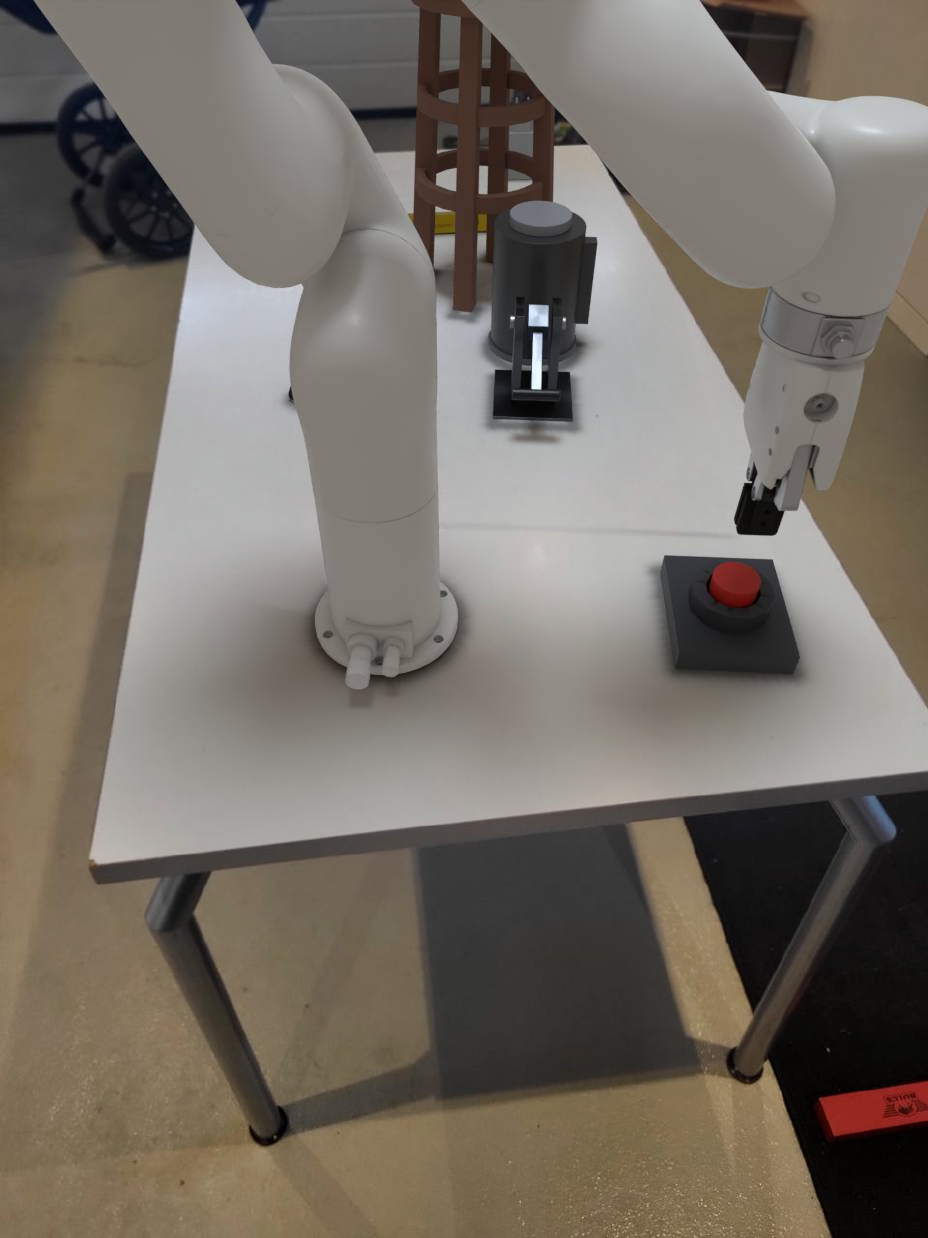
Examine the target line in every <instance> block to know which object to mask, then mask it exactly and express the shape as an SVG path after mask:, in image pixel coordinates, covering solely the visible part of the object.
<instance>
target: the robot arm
mask: <svg viewBox="0 0 928 1238" xmlns="http://www.w3.org/2000/svg"><path fill="white" fill-rule="evenodd" d="M461 1H462V2H463V3H464V4H465V5H466V6H467V7H468V9H469V10H470V11H471V12H472V13H473V14H474V15H475V16H476V17H477V18H478V19H479V20H480V21H481V22H482V23H483V26H485V27H486V29H487V30H488V31H489V32H490V34H491V33H492V34H493V35H494V36H495V37H496V38H497V39H498V40H499V42H500V43H501V44H502V45H503V46H504V47H505V48H506V49H507V50H508V52H509V53H510V54H511V57H513V58H514V60H515V61H516V62H517V63H518V64H519V66H520V67H521V68H522V69H523V71H524V73H527V75H528V76H529V77H530V79H531V80H532V81H533V83H534V84H535V85H536V86H537V88H538V89H539V90H540V91H541V92H542V94H543V95H544V96H545V97H546V98H547V99H548V100H549V101H550V102H551V103H552V105H553V106H554V107H555V110H557V112H559V113H560V114H561V116H563V118H564V119H565V120H566V121H567V122H568V123H569V124H570V125H571V126H572V127H573V129H574V130H575V131H576V132H577V133H578V134H579V135H580V137H582V138H583V140H584V141H585V142H586V144H587V145H588V146H589V147H590V148H591V149H592V151H593V152H594V153H595V154H596V156H597V157H598V158H599V159H600V160H601V162H602V163H603V164H604V165H605V166H606V167H607V169H609V171H610V172H611V173H612V174H613V176H614V177H615V178H616V179H617V180H618V182H619V183H620V184H621V185H622V186H623V188H624V189H625V190H626V191H627V192H628V193H629V194H630V195H631V197H632V198H633V199H634V200H635V201H636V202H637V203H638V204H639V205H640V207H641V208H642V209H643V210H644V211H645V212H646V213H647V214H648V215H649V216H650V217H651V218H652V219H653V221H654V222H656V224H657V225H658V226H659V227H660V228H661V229H662V230H663V231H664V232H665V233H666V234H667V235H668V236H669V237H670V238H671V239H672V240H673V241H674V242H675V243H676V244H677V245H678V247H680V248H681V249H682V251H684V253H685V254H686V255H687V256H688V257H690V258H691V260H692V261H693V262H694V263H696V265H698V267H700V269H702V270H703V271H704V272H705V273H707V274H708V275H709V276H711V277H712V278H713V279H716V280H717V281H719V282H721V283H723V284H726V285H728V286H731V287H735V288H739V289H748V290H749V289H751V290H752V289H763V288H764V289H765V288H767V293H766V296H765V297H766V298H765V301H764V304H763V308H762V312H761V316H760V319H759V324H758V327H757V331H758V334H759V338H760V339H761V341H762V342H761V346H760V349H759V352H758V355H757V358H756V361H755V364H754V366H753V367H754V368H753V371H752V374H751V378H750V381H749V384H748V388H747V392H746V397H745V401H744V406H743V414H742V415H743V419H742V420H743V426H744V430H745V434H746V438H747V442H748V445H749V448H750V455H749V459H748V463H747V467H746V472H745V477H746V481H747V482H743V486H742V489H741V492H740V496H739V499H738V502H737V506H736V510H735V512H734V516H733V522H734V525H735V531H736V533H737V534H738V535H739V536H763V537H764V536H765V537H773V536H776V535H777V534H778V532H779V529H780V526H781V523H782V520H783V518H784V514H785V512H797V511H798V510H799V507H800V503H801V499H802V495H803V491H804V488H805V487H804V486H805V483H806V478H807V475H808V472H809V475H810V478H811V480H812V483H813V487H814V489H815V491H821V492H826V491H828V490H829V489H830V488H831V486H832V484H833V483H834V480H835V477H836V475H837V471H838V468H839V466H840V463H841V460H842V457H843V454H844V451H845V447H846V445H847V441H848V438H849V434H850V432H851V427H852V424H853V422H854V419H855V415H856V411H857V410H856V409H857V408H858V407H857V406H858V403H859V398H860V393H861V389H862V384H863V379H864V374H865V373H864V372H865V367H866V366H865V365H866V364H865V360H866V359H867V358H868V357H869V356H871V355H872V353H873V352H874V350H875V348H876V345H877V342H878V340H879V337H880V334H881V332H882V328H883V326H884V323H885V320H886V318H887V315H888V313H889V311H890V307H891V305H892V302H893V299H894V296H895V293H896V291H897V288H898V286H899V283H900V280H901V278H902V275H903V273H904V270H905V268H906V264H907V262H908V259H909V256H910V254H911V251H912V248H913V246H914V242H915V240H916V238H917V235H918V233H919V230H920V227H921V225H922V222H923V219H924V216H925V214H926V211H927V209H928V106H927V105H925V104H922V103H919V102H916V101H913V100H910V99H906V98H901V97H894V96H886V95H885V96H883V95H863V96H861V95H860V96H854V97H848V98H844V99H840V100H827V99H818V98H813V97H807V96H800V95H793V94H788V93H782V92H777V91H772V90H767V89H766V87H764V85H763V83H762V82H761V81H760V80H759V78H758V77H757V76H756V74H754V72H753V71H752V70H751V68H750V67H749V66H748V64H747V63H746V62H745V61H744V59H743V57H742V56H740V54H739V53H738V51H737V50H736V49H735V48H734V46H733V45H732V43H731V42H730V41H729V39H728V38H727V36H726V35H725V34H724V33H723V31H722V30H721V29H720V27H719V26H718V24H717V23H716V21H714V19H713V18H712V15H710V13H709V11H708V10H707V8H706V7H705V6H704V5H703V3H702V2H701V0H461ZM33 2H34V3H35V4H36V6H37V7H38V8H39V10H40V11H41V13H42V14H43V16H44V17H45V18H46V20H47V21H48V22H49V24H50V25H51V26H52V27H53V30H55V32H56V33H57V35H58V36H59V37H60V38H61V40H62V41H63V42H64V44H65V45H66V47H67V48H68V49H69V51H70V52H71V53H72V54H73V56H74V57H75V58H76V59H77V61H78V62H79V63H80V65H81V66H82V67H83V69H84V70H85V71H86V73H87V74H88V76H89V77H90V78H91V79H92V81H93V82H94V84H96V86H97V87H98V89H99V90H100V92H101V93H102V95H103V96H104V97H105V98H106V100H107V101H108V102H109V105H110V106H111V107H112V108H113V110H114V112H115V113H116V115H117V116H118V118H119V119H120V120H121V122H122V124H123V125H124V127H125V128H126V130H127V131H128V133H129V134H130V136H131V137H132V139H133V140H134V141H135V143H136V144H137V145H138V147H139V148H140V150H141V151H142V153H143V154H144V156H146V158H147V159H148V161H149V162H150V163H151V165H152V167H153V168H154V169H155V170H156V172H157V173H158V175H159V176H160V177H161V179H162V181H163V182H164V183H165V184H166V186H167V187H168V189H169V190H170V191H171V193H172V194H173V196H174V197H175V199H176V200H177V201H178V202H179V204H180V205H181V207H182V208H183V210H184V211H185V212H186V213H187V215H188V216H189V218H190V219H191V220H192V223H193V224H194V225H195V227H196V228H197V230H198V231H199V233H200V234H201V235H202V237H203V238H204V239H205V240H206V241H207V243H208V245H209V246H210V247H211V248H212V250H213V251H214V252H215V253H216V254H217V256H218V257H219V258H220V259H221V260H222V261H223V262H224V263H225V265H227V267H228V268H230V269H231V270H233V271H234V272H235V273H236V274H238V275H239V276H240V277H241V278H243V279H245V280H247V281H250V282H252V283H254V284H256V285H258V286H263V287H266V288H271V289H285V288H287V289H288V288H293V287H295V286H298V285H301V286H302V292H301V295H300V298H299V300H298V301H299V302H298V306H297V310H296V314H295V319H294V323H293V328H292V333H291V341H290V349H289V363H288V364H289V366H288V367H289V368H288V369H289V381H290V386H291V389H292V395H293V399H294V402H293V404H294V406H295V410H296V414H297V418H298V420H299V424H300V428H301V431H302V435H303V440H304V444H305V445H304V446H305V450H306V456H307V461H308V468H309V474H310V480H311V487H312V493H313V497H314V504H315V512H316V518H317V523H318V532H319V538H320V545H321V551H322V558H323V564H324V572H325V579H326V584H327V585H326V586H327V590H326V592H324V594H323V595H322V596H321V598H320V600H319V602H318V604H317V605H316V610H315V614H314V628H315V633H316V637H317V640H318V642H319V644H320V646H321V648H322V649H323V650H324V652H325V653H326V654H327V656H329V657H330V658H331V659H332V660H334V661H335V662H336V663H337V664H339V665H341V666H343V667H345V668H346V673H345V677H344V682H345V684H346V685H347V687H348V688H351V689H353V690H365V689H366V688H367V687H369V684H370V679H371V675H373V676H384V677H388V678H394V677H397V676H398V675H400V674H406V673H410V672H412V671H416V670H418V669H421V668H422V667H425V666H427V665H429V664H431V663H432V662H434V661H435V660H436V659H438V658H439V657H440V656H442V655H443V654H444V653H445V651H447V649H449V647H450V646H451V644H452V643H453V641H454V639H455V637H456V633H457V630H458V625H459V624H458V623H459V611H458V609H459V608H458V605H457V601H456V598H455V597H454V594H452V592H451V590H450V589H449V588H448V587H447V586H446V585H445V584H444V583H443V582H442V581H441V574H440V573H441V570H440V568H441V566H440V563H441V562H440V513H439V511H440V510H439V509H440V507H439V472H438V469H439V468H438V463H439V462H438V426H437V425H438V409H437V408H438V319H437V285H436V284H437V283H436V282H437V281H436V275H435V269H433V266H432V263H431V260H430V258H429V255H428V253H427V250H426V248H425V246H424V244H423V242H422V240H421V238H420V236H419V234H418V232H417V230H416V229H415V227H414V225H413V223H412V221H411V219H410V218H409V216H408V214H407V213H408V212H407V210H406V209H405V207H404V205H403V203H402V201H401V199H400V198H399V196H398V194H397V193H396V191H395V189H394V187H393V185H392V183H391V181H390V179H389V178H388V176H387V174H386V172H385V170H384V169H383V166H382V165H381V163H380V161H379V159H378V157H377V156H376V154H375V152H374V150H373V148H372V146H371V145H370V142H369V141H368V139H367V137H366V136H365V134H364V132H363V130H362V128H361V126H360V125H359V123H358V122H357V120H356V118H355V117H354V115H353V114H352V112H351V111H350V109H349V108H348V106H347V105H346V104H345V102H344V101H343V100H342V99H341V98H340V97H339V95H338V94H337V93H336V92H335V91H334V90H333V89H332V88H331V87H330V86H329V85H327V84H326V83H325V82H324V81H323V80H321V79H320V78H318V77H317V76H316V75H314V74H312V73H310V72H308V71H306V70H304V69H302V68H299V67H296V66H293V65H288V64H280V63H272V61H271V60H270V58H269V57H268V55H267V54H266V52H265V50H264V49H263V47H262V46H261V44H260V42H259V40H258V38H257V37H256V35H255V33H254V31H253V29H252V27H251V25H250V23H249V22H248V20H247V18H246V16H245V14H244V12H243V10H242V9H241V7H240V5H239V4H238V2H237V0H33Z"/></svg>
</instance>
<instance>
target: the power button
mask: <svg viewBox="0 0 928 1238" xmlns="http://www.w3.org/2000/svg"><path fill="white" fill-rule="evenodd" d="M760 584H761V580H760V576H759V575H758V573H757V572H756V571H755V570H754V569H753V568H751V567H749V566H748V565H745V564H742V563H738V562H726V563H722V564H720V565H719V566H717V567H716V568H715V570H714V572H713V575H712V578H711V582H710V585H709V591H710V594H711V596H712V597H713V598H714V599H715V600H716V601H717V602H719V603H721V604H724V605H726V606H728V607H733V608H743V607H747V606H749V605H751V604H752V603H753V602H754V601H755V599H756V596H757V593H758V590H759V587H760Z"/></svg>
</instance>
